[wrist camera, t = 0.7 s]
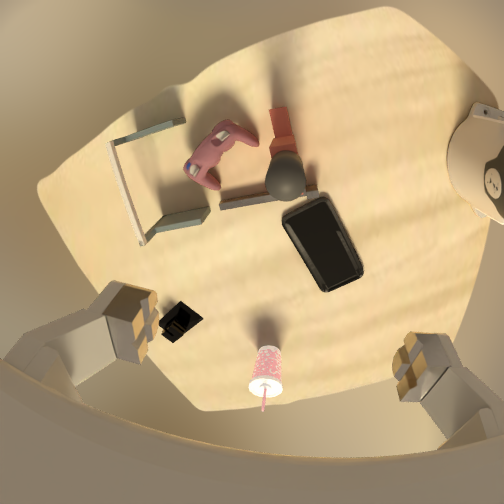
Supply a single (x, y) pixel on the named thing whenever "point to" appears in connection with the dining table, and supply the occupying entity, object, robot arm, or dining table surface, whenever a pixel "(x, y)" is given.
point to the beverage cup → (267, 373)
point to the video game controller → (215, 152)
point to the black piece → (178, 321)
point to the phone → (323, 244)
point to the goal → (162, 225)
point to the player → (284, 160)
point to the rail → (263, 198)
